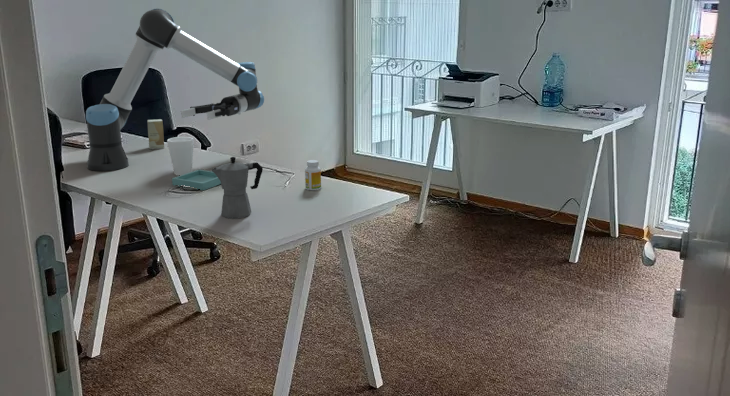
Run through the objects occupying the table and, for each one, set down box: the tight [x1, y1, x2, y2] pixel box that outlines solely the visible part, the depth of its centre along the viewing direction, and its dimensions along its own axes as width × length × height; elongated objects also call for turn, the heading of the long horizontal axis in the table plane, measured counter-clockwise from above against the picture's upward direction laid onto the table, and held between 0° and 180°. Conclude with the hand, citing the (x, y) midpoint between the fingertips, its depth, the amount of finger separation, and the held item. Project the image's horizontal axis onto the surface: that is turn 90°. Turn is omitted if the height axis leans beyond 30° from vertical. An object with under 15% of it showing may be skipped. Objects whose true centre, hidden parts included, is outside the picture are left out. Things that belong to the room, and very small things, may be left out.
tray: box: [171, 169, 221, 191], centre depth 243 cm, size 14×14×2 cm
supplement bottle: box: [304, 159, 322, 191], centre depth 235 cm, size 5×5×10 cm
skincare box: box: [147, 118, 165, 150], centre depth 295 cm, size 6×4×12 cm
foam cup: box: [166, 136, 195, 176], centre depth 254 cm, size 10×9×13 cm
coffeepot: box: [210, 156, 264, 220], centre depth 207 cm, size 15×9×18 cm, turn 111°
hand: (194, 115), depth 257 cm, fingers open, 13 cm apart
